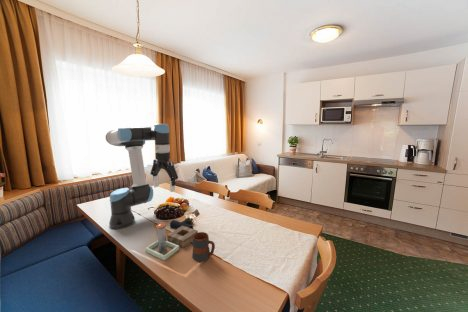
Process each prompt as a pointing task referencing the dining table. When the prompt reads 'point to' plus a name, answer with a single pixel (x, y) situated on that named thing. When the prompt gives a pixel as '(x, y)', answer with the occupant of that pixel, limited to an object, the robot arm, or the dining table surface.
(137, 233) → the dining table surface
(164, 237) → the pin
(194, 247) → the mug
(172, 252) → the pale green rectangular frame
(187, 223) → the pipe connector
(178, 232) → the socket block
